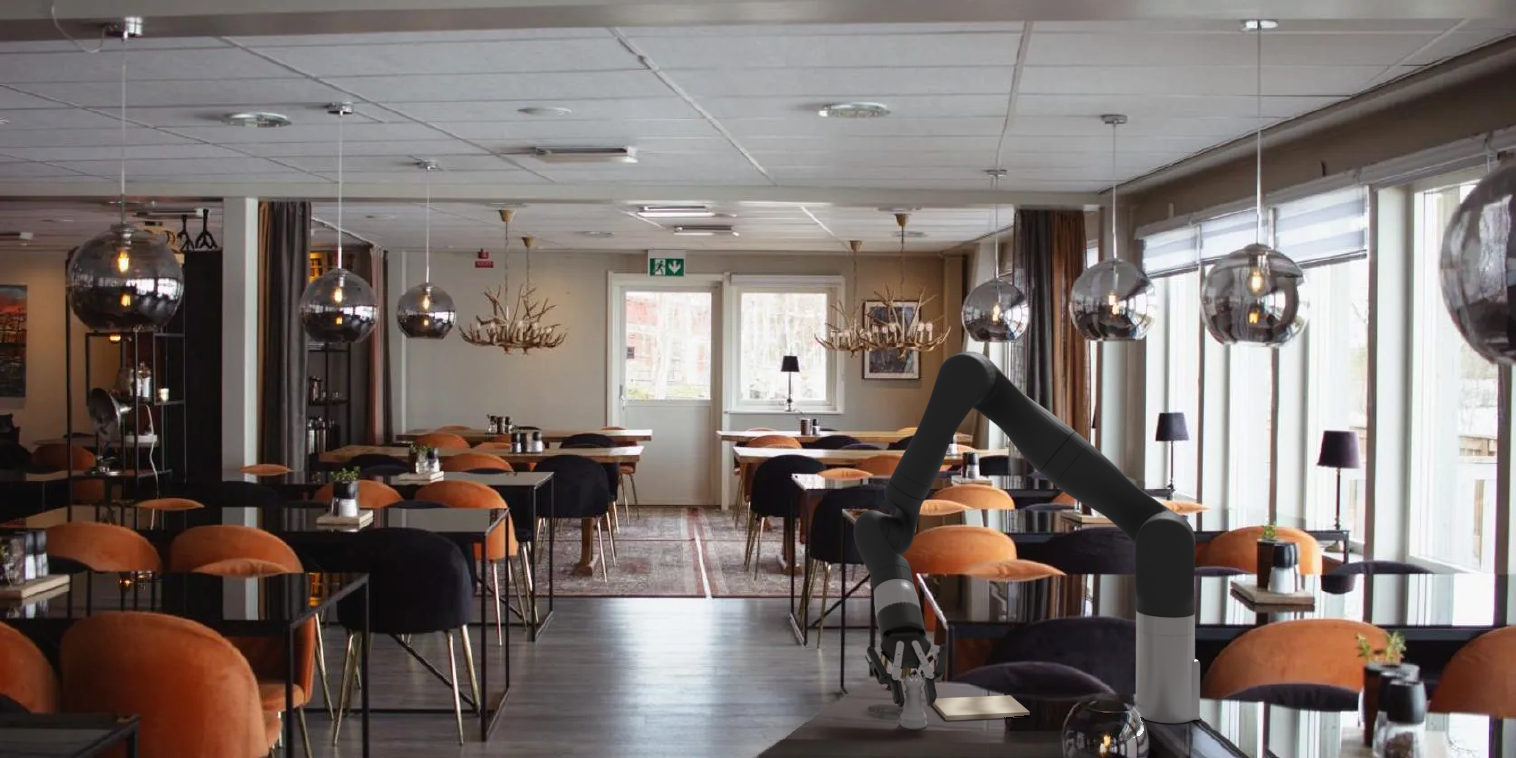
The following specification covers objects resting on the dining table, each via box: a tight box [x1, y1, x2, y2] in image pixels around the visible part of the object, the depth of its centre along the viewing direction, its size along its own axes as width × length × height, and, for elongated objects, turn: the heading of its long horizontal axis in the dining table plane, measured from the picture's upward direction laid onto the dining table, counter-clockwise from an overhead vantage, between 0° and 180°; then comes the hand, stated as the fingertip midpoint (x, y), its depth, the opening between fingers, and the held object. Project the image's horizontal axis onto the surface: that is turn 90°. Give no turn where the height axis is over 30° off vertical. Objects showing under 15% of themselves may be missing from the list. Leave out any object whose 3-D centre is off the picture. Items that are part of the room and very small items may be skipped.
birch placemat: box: [933, 695, 1030, 721], centre depth 217 cm, size 14×10×1 cm
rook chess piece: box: [899, 674, 928, 730], centre depth 209 cm, size 4×4×8 cm
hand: (916, 703), depth 207 cm, fingers open, 4 cm apart
